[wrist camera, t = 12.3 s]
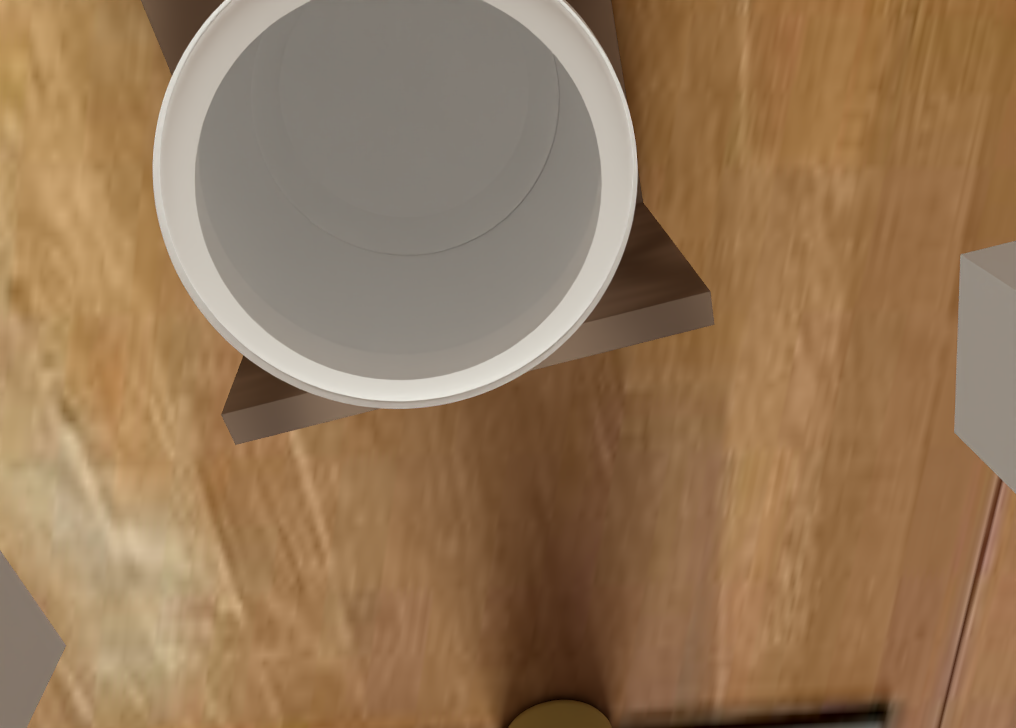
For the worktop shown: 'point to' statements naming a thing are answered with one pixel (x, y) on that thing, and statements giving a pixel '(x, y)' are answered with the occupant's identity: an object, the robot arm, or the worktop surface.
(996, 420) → the robot arm
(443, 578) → the worktop surface
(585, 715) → the paper tube
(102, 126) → the worktop surface
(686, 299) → the holder
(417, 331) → the jar
